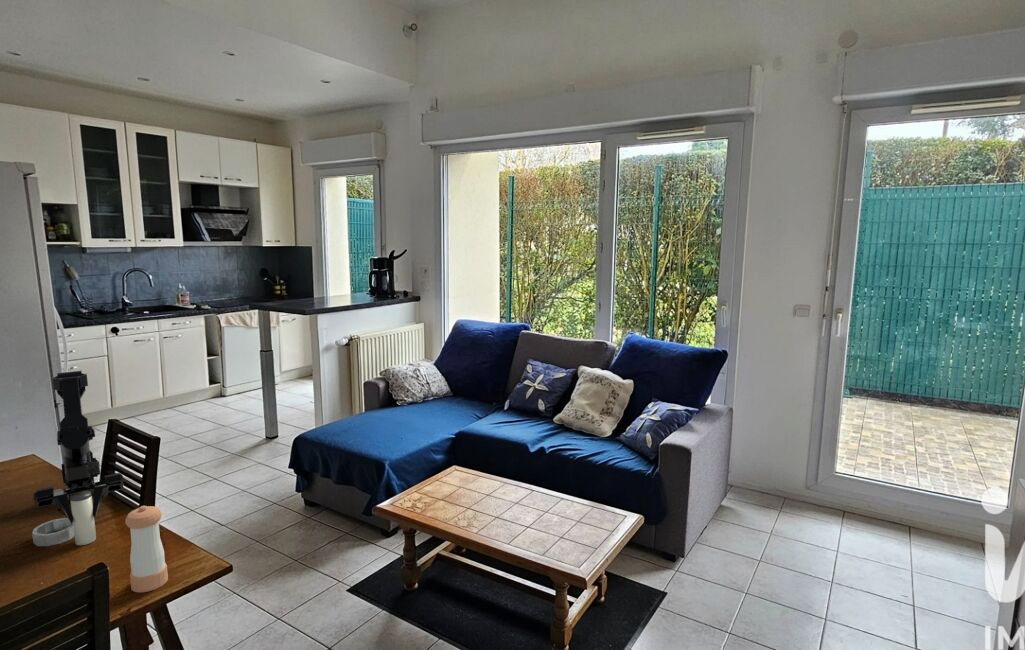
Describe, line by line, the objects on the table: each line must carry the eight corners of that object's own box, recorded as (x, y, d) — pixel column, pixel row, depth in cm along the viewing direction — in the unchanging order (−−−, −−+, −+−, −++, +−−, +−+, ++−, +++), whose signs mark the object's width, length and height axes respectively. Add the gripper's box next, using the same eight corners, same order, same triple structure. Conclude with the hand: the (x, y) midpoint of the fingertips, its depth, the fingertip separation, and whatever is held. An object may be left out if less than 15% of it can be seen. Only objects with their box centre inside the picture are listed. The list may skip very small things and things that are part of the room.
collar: (53, 527, 154) (52, 517, 154) (86, 528, 154) (85, 518, 154) (24, 545, 145) (23, 535, 145) (59, 546, 145) (58, 535, 145)
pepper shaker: (161, 570, 136) (154, 496, 133) (173, 581, 132) (166, 505, 129) (126, 583, 130) (118, 507, 127) (137, 596, 126) (129, 517, 123)
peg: (83, 536, 150) (78, 490, 148) (100, 536, 150) (95, 490, 148) (71, 545, 146) (65, 498, 144) (87, 545, 146) (82, 498, 144)
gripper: (29, 460, 141) (32, 519, 135) (119, 444, 153) (126, 497, 146) (34, 479, 149) (38, 535, 142) (119, 462, 160) (126, 513, 154)
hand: (83, 519), depth 146 cm, fingers closed on peg, 4 cm apart
